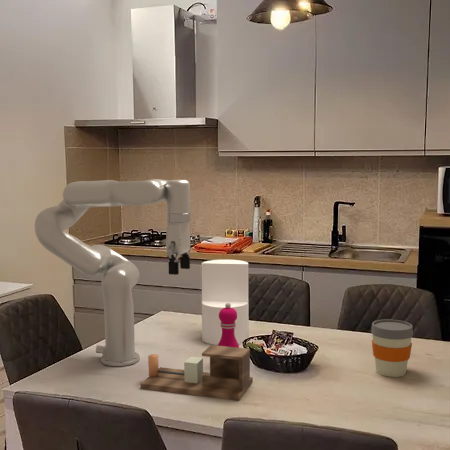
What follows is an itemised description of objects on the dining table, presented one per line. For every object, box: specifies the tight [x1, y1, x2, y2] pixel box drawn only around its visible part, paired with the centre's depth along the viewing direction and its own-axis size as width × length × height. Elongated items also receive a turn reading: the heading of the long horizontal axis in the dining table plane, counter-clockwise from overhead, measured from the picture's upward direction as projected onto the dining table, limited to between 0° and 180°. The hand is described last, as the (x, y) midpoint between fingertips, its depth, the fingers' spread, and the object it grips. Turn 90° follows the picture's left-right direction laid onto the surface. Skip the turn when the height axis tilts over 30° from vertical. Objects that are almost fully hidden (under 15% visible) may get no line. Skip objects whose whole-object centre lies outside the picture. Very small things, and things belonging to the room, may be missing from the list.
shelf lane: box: [140, 344, 254, 401], centre depth 177 cm, size 30×14×11 cm, turn 72°
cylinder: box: [201, 259, 250, 346], centre depth 222 cm, size 17×17×28 cm
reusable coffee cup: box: [370, 318, 414, 378], centre depth 187 cm, size 13×13×15 cm
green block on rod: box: [147, 353, 204, 383], centre depth 180 cm, size 16×5×6 cm, turn 72°
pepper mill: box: [217, 303, 240, 348], centre depth 196 cm, size 7×7×20 cm
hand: (179, 271), depth 194 cm, fingers open, 9 cm apart
